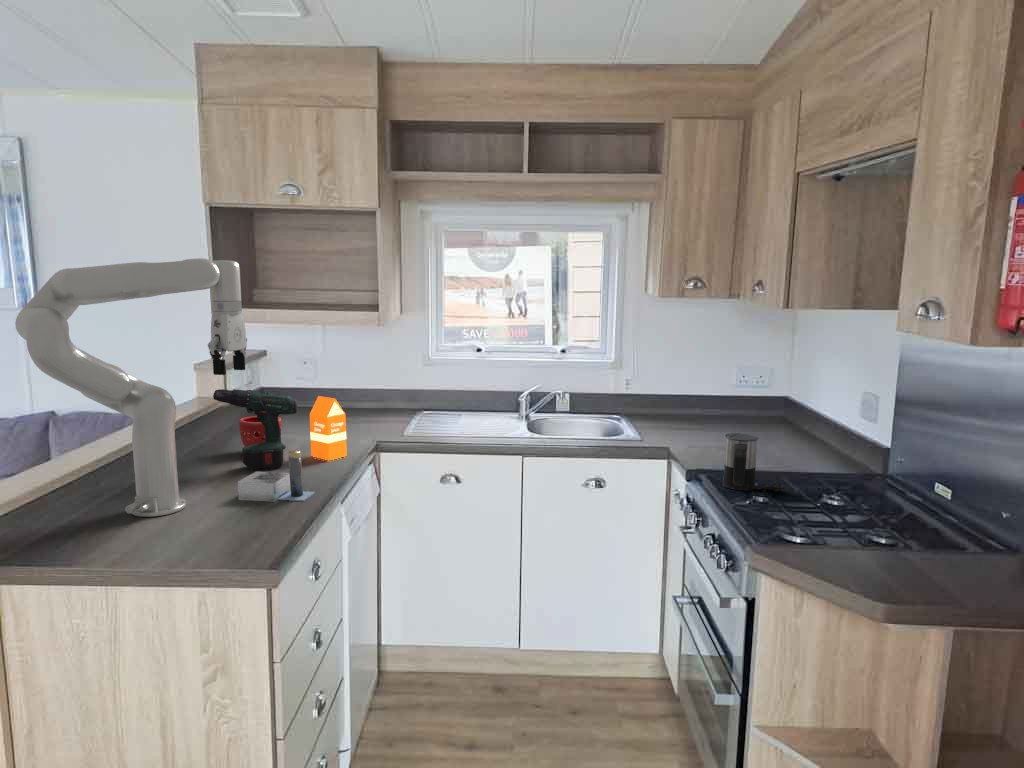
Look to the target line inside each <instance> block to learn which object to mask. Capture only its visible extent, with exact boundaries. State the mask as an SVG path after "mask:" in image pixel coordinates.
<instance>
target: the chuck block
mask: <svg viewBox="0 0 1024 768" xmlns="http://www.w3.org/2000/svg"><path fill="white" fill-rule="evenodd" d="M289 491H290V474H289V472H279V471H278V472H276V471H261V470H257V471H253V473H251V474H249V475H247V476H246V477H244V478H242V479H240V480H238V481H237V492H238V500H239V501H250V502H252V501H254V502H268V503H269V502H270V503H271V502H272V503H275V502H276V501H279V498H280V497H282V496H283V495H285V494H286V493H288V492H289Z"/></svg>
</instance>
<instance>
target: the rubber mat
mask: <svg viewBox="0 0 1024 768" xmlns="http://www.w3.org/2000/svg"><path fill="white" fill-rule="evenodd" d="M315 494H316V491H304V490H303V495H302V496H300V497H291V491H289V492H288V493H286V494H285V495H283V496H282V497H280V498H279V499H278V501H286V500H289V501H291V502H305V501H306V500H308V499H309V498H310V497H312V496H313V495H315Z"/></svg>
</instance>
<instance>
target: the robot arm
mask: <svg viewBox="0 0 1024 768" xmlns="http://www.w3.org/2000/svg"><path fill="white" fill-rule="evenodd" d="M208 289H209V298H210V313H211V321H210V341H209V342H208V343H207V347H208V350H209V355H210V357H211V360H212V369H213V371H212V372H213V375H215V376H218V375H219V376H225V375H227V369H226V367H227V366H226V359H225V355H226V353H227V352H228V353H229V352H230V353H231V352H232V353H233V355H232V363H233V370H234V371H245V370H246V350H247V345H248V338H247V330H246V325H245V319H244V315H243V310H242V309H243V308H242V291H241V290H242V287H241V268H240V264H239V263H238V261H235V260H226V259H220V260H219V259H218V260H210V259H207V258H186V259H183V260H178V261H177V260H176V261H163V262H161V261H160V262H146V261H145V262H143V261H142V262H137V261H136V262H124V263H123V262H122V263H116V264H107V265H106V264H105V265H103V264H102V265H93V266H83V267H74V268H72V267H70V268H69V267H68V268H63V269H59V270H58V271H56V272H55V273H53V274H52V276H51V277H49V279H48V280H47V281H46V282H45V283H44V285H42V287H41V288H40V289H39V290H38V291H37V292H36V293H35V295H34V296H32V298H30V300H29V301H28V302H27V303H26V304H25V305H24V306H23V308H22V309H21V310H20V311H19V312H18V314H17V316H16V318H15V323H14V324H15V329H16V331H17V334H18V335H19V336H20V337H21V338H22V339H24V340H25V341H26V347H27V353H28V355H29V356H30V358H31V361H33V363H34V365H35V366H36V367H37V369H39V370H40V371H41V372H42V373H44V374H45V375H46V376H48V377H50V378H52V379H54V380H56V381H58V382H60V383H62V384H64V385H65V386H68V387H69V388H72V389H73V390H76V391H78V392H80V393H81V394H82V395H83V396H84V397H86V398H87V399H89V400H92V401H94V402H96V403H98V404H101V405H102V406H105V407H107V408H109V409H112V410H113V411H115V412H118V413H120V414H123V415H125V416H127V417H129V418H131V419H132V429H131V430H132V431H131V432H132V433H131V442H132V454H133V455H132V456H133V468H134V477H135V478H134V479H135V481H134V482H135V492H136V495H135V496H134V502H133V503H131V504H129V505H127V506H126V507H125V508H124V509H125V512H126V514H131V515H133V516H135V517H143V518H145V517H147V518H148V517H152V518H153V517H159V516H161V517H162V516H166V515H170V514H174V513H178V512H180V511H181V510H183V509H184V508H186V506H187V500H186V499H185V498H181V497H180V492H179V478H178V475H179V474H178V465H177V464H178V462H177V448H176V435H175V434H176V433H175V432H176V428H175V427H176V416H177V408H176V401H175V399H174V398H173V396H172V394H170V392H169V391H167V390H166V389H165V388H163V387H161V386H157V385H154V384H150V383H147V382H145V381H143V380H141V379H139V378H137V377H135V376H133V375H132V374H129V373H127V372H126V371H124V370H123V369H122V368H120V367H119V366H117V365H114V364H113V363H108V362H106V361H103V360H101V359H100V358H97V357H95V356H94V355H92V354H90V353H89V352H86V351H85V350H82V349H80V348H79V347H77V346H76V345H75V344H74V343H73V342H72V340H71V338H70V328H69V327H70V326H69V321H68V320H69V318H70V317H71V316H72V315H74V313H75V312H76V310H78V308H79V307H80V306H87V305H88V306H89V305H96V304H105V303H110V302H118V301H128V300H134V299H135V300H136V299H142V298H143V299H144V298H152V297H157V296H163V295H169V294H178V293H186V292H187V293H188V292H195V291H203V290H208Z"/></svg>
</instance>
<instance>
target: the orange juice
mask: <svg viewBox="0 0 1024 768" xmlns="http://www.w3.org/2000/svg"><path fill="white" fill-rule="evenodd" d="M312 406H313V407H312V409H311V411H310V412H309V428H310V432H309V433H310V434H309V436H310V438H309V439H310V452H311V453H310V454H311V455H310V457H311V456H313V457H317V458H321V459H325V460H328V461H327V462H330V461H329V460H333V461H335V460H334V459H337V460H339V459H338V458H340V459H342V458H341V457H344V458H346V457H345V456H347V457H348V454H347V453H348V452H347V451H348V450H347V421H346V419H347V417H346V412H345V411H344V410H343V409H342V406H341V405H340V404H339V402H338V401H337V399H336V398H333V397H326V396H320V395H318V396H317V398H316V400H315V402H314V405H312Z"/></svg>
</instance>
